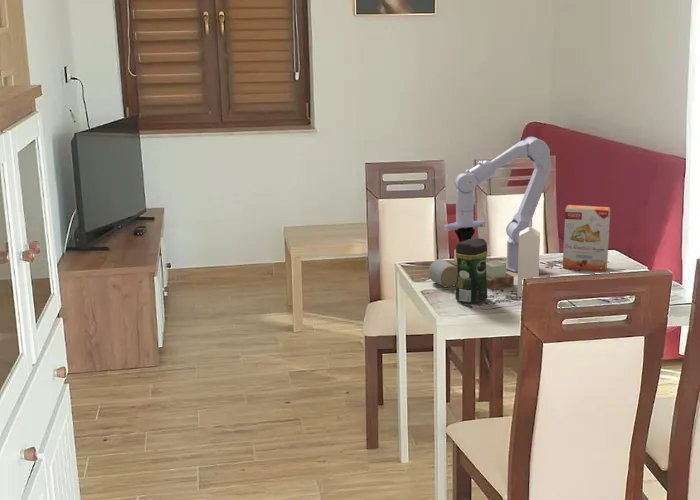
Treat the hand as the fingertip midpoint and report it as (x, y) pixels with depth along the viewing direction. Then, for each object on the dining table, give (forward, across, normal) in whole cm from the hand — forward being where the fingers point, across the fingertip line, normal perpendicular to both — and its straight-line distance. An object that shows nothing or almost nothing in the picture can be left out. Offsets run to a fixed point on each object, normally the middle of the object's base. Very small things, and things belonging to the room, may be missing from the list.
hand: (464, 249), depth 286 cm
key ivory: (+4, 0, 0) cm, 4 cm away
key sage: (+4, 0, +19) cm, 20 cm away
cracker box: (+7, -37, +16) cm, 41 cm away
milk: (+7, -3, +33) cm, 34 cm away
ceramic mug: (+7, +13, +12) cm, 19 cm away
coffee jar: (+7, +15, +30) cm, 34 cm away
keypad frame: (+7, 0, +10) cm, 12 cm away
